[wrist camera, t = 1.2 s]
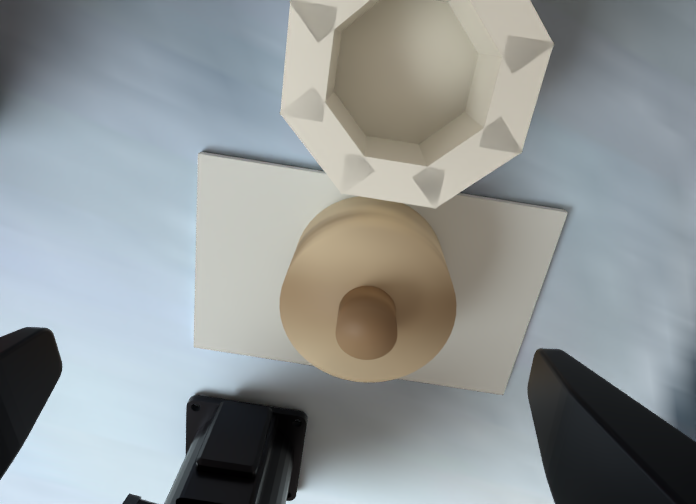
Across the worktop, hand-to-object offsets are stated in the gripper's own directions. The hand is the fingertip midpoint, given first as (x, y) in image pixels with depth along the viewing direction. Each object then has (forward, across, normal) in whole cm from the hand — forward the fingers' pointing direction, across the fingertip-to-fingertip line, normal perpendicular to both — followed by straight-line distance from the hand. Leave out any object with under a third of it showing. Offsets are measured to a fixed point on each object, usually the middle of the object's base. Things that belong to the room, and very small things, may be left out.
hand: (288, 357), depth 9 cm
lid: (+13, -1, +4) cm, 14 cm away
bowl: (+13, -2, -4) cm, 14 cm away
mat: (+13, -1, +6) cm, 14 cm away
